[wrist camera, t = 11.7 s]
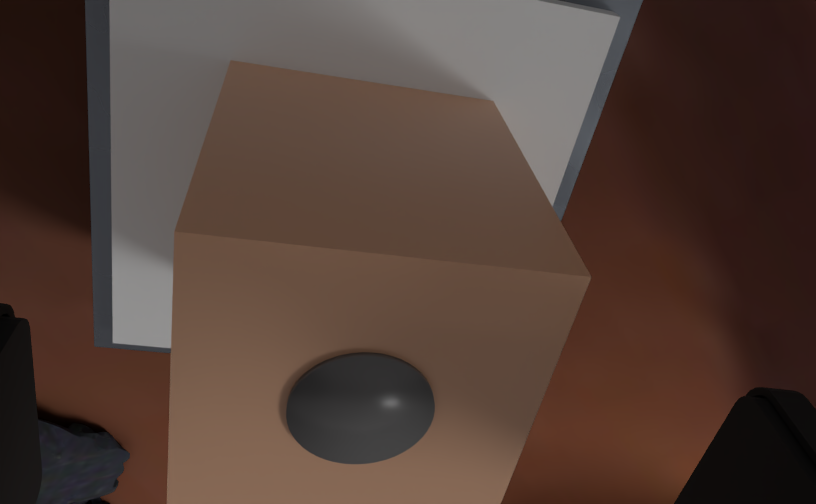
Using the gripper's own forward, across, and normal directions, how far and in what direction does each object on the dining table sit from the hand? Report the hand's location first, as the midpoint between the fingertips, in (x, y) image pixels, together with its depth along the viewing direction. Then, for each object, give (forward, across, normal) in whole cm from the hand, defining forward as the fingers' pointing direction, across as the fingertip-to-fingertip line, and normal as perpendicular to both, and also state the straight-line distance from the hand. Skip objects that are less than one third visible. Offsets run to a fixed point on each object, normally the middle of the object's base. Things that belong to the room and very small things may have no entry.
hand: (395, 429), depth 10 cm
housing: (+6, +1, 0) cm, 6 cm away
